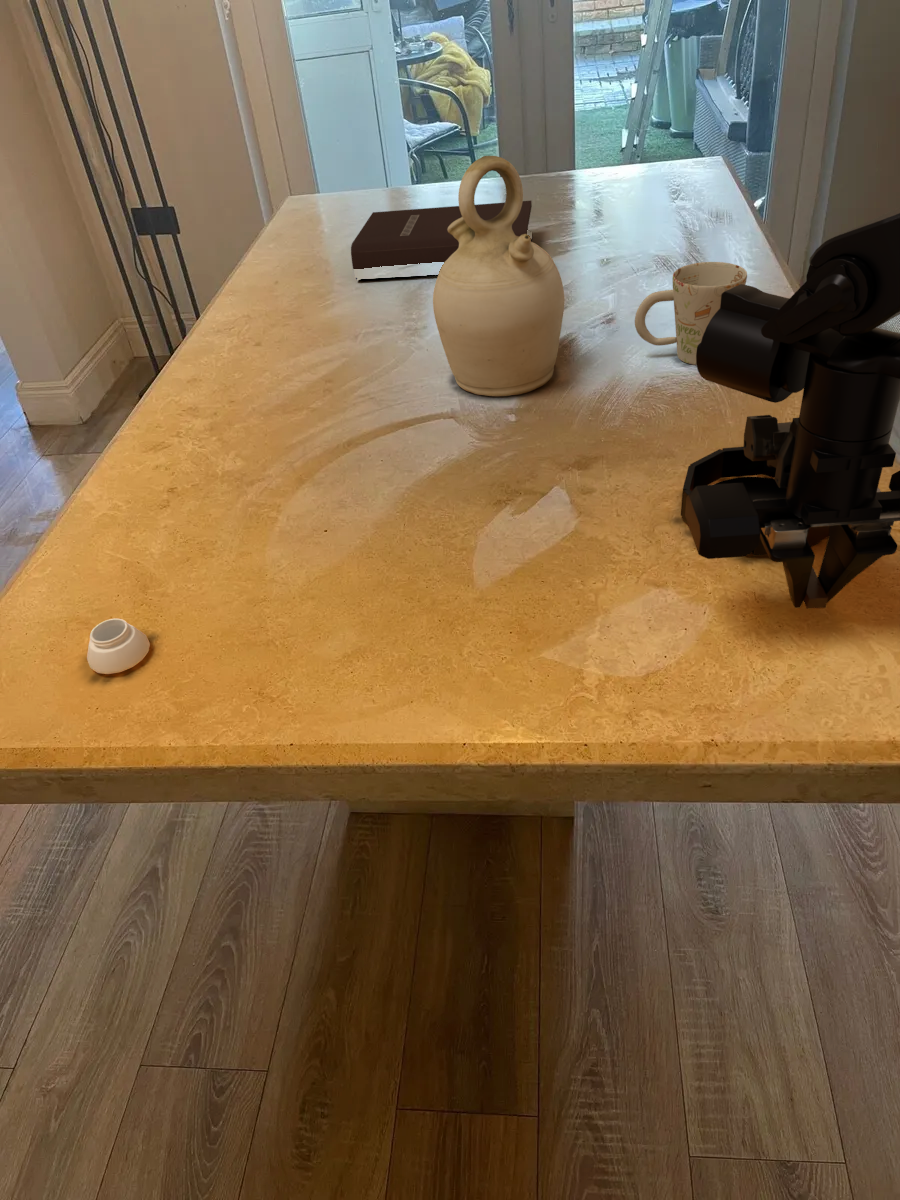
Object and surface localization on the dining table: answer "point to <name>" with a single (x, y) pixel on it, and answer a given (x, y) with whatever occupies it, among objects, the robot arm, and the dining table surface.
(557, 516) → the dining table surface
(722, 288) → the mug
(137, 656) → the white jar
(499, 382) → the jug
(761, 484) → the frying pan
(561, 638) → the dining table surface
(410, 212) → the book
